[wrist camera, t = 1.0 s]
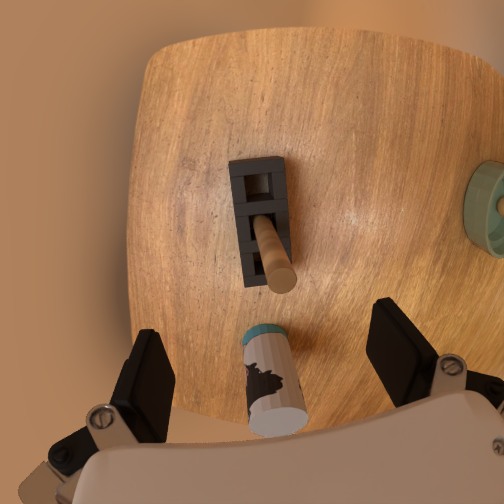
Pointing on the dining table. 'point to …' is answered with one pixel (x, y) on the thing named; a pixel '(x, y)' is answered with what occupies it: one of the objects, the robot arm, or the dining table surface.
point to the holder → (259, 211)
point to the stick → (273, 256)
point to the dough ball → (500, 206)
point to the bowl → (485, 209)
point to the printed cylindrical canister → (272, 383)
